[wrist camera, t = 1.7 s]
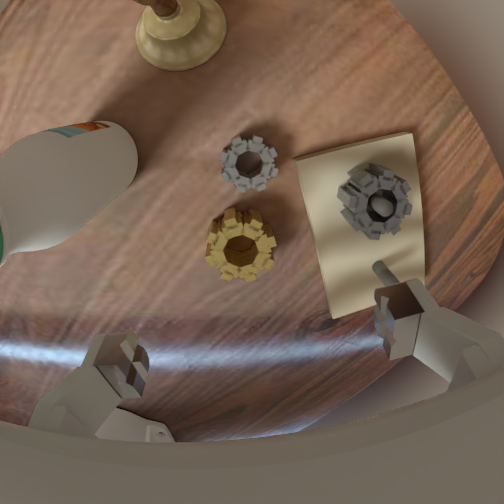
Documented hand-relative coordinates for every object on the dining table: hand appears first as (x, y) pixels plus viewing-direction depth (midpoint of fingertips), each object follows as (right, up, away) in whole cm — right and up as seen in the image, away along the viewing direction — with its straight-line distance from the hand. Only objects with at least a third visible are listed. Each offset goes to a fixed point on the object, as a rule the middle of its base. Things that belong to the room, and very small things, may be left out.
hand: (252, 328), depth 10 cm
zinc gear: (0, +11, +18) cm, 21 cm away
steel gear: (+11, +8, +18) cm, 23 cm away
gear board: (+12, +5, +22) cm, 25 cm away
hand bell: (-6, +22, +13) cm, 26 cm away
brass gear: (-1, +4, +21) cm, 22 cm away
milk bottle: (-14, +11, +17) cm, 25 cm away
